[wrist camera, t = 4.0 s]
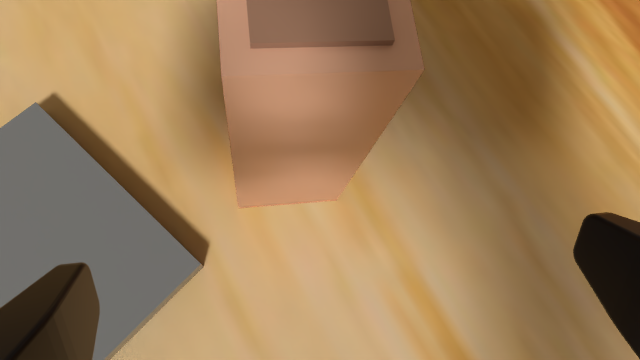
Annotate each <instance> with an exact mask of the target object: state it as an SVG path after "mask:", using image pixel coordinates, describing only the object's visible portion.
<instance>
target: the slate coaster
mask: <svg viewBox="0 0 640 360" xmlns="http://www.w3.org/2000/svg"><path fill="white" fill-rule="evenodd" d="M80 262H84V263H86V264H87V265H88V266H89V268H90V270H91V274H92V277H93V281H94V284H95V288H96V291H97V295H98V299H99V304H100V315H99V322H98V328H97V334H96V340H95V346H94V352H93V359H92V360H110V359H111V358H112V357H113V356H114V355H115V354H116V353H117V352H118V351H119V350H120V349H121V348H122V347H123V346H124V345H125V344H126V343H127V342H128V341H129V340H130V339H131V338H132V337H133V336H134V335H135V334H136V333H137V332H138V331H139V330H140V329H141V328H142V327H143V326H144V325H145V324H146V323H147V322H148V321H149V320H150V319H151V318H152V317H153V316H154V315H155V314H156V313H157V312H158V311H159V310H160V309H161V308H162V307H163V306H164V305H165V304H166V303H167V302H168V301H169V300H170V299H171V298H172V297H173V296H174V295H175V294H176V293H177V292H178V291H179V290H180V289H181V288H182V287H183V286H184V285H185V284H187V283H188V282H189V281H190V280H191V279H192V278H193V277H194V276H195V275H196V274H197V273H198V272H199V271H200V270H201V269H202V268H203V266H202V265H201V263H199V262H198V261H197V260H196V259H195V258H194V257H193V256H192V255H191V254H190V253H189V252H188V251H187V250H186V249H185V248H184V247H183V246H182V245H181V244H180V243H179V242H178V241H177V240H176V239H175V238H174V237H173V236H172V235H171V234H170V233H169V232H168V231H167V230H166V229H165V228H164V227H163V226H162V225H161V224H160V223H159V222H158V221H157V220H156V219H155V218H153V217H152V216H151V215H150V214H149V213H148V212H147V211H146V210H145V209H144V208H143V207H142V206H141V205H140V204H139V203H138V202H137V201H136V200H135V199H134V198H133V197H132V196H131V195H130V194H129V193H128V192H127V191H126V190H125V189H124V188H123V187H122V186H121V185H120V184H119V183H118V182H117V181H116V180H115V179H114V178H113V177H112V176H111V175H110V174H109V173H108V172H106V171H105V170H104V169H103V168H102V167H101V166H100V165H99V164H98V163H97V162H96V161H95V160H94V159H93V158H92V157H91V156H90V155H89V154H88V153H87V152H86V151H85V150H84V149H83V148H82V147H81V146H80V145H79V144H78V143H77V142H76V141H75V140H74V139H73V138H72V137H71V136H70V135H69V134H68V133H67V132H66V131H65V130H64V129H63V128H62V127H60V126H59V125H58V124H57V123H56V122H55V121H54V120H53V119H52V118H51V117H50V116H49V115H48V114H47V113H46V112H45V111H44V110H43V109H42V108H41V107H40V106H39V105H38V104H37V103H36V102H35V103H34V104H33V105H31V106H30V107H29V108H27V109H26V110H24V111H23V112H22V113H20V114H19V115H18V116H16V117H15V118H13V119H12V120H11V121H9V122H8V123H7V124H5V125H4V126H2V127H1V128H0V308H1V307H2V306H3V305H5V304H6V303H7V302H9V301H10V300H11V299H13V298H14V297H15V296H17V295H18V294H20V293H21V292H22V291H24V290H25V289H26V288H28V287H29V286H30V285H32V284H33V283H34V282H36V281H37V280H38V279H40V278H41V277H42V276H44V275H45V274H46V273H48V272H49V271H50V270H52V269H53V268H54V267H56V266H57V265H60V264H69V263H80Z"/></svg>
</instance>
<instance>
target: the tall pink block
mask: <svg viewBox="0 0 640 360" xmlns="http://www.w3.org/2000/svg"><path fill="white" fill-rule="evenodd" d="M217 15H218V31H219V47H220V63H221V78H222V85H223V93H224V101H225V109H226V116H227V124H228V132H229V140H230V148H231V155H232V163H233V171H234V179H235V187H236V194H237V202H238V208H247V207H259V206H272V205H284V204H296V203H309V202H321V201H334V200H337V199H338V198H339V196H340V195H341V193H342V192H343V190H344V189H345V187H346V186H347V184H348V183H349V181H350V180H351V178H352V177H353V175H354V174H355V172H356V171H357V169H358V168H359V166H360V165H361V163H362V162H363V160H364V159H365V158H366V156H367V155H368V153H369V152H370V150H371V149H372V147H373V146H374V144H375V143H376V141H377V140H378V138H379V137H380V135H381V134H382V132H383V131H384V129H385V128H386V126H387V125H388V123H389V122H390V120H391V119H392V117H393V116H394V115H395V113H396V112H397V110H398V109H399V107H400V106H401V104H402V103H403V101H404V100H405V98H406V97H407V95H408V94H409V92H410V91H411V89H412V88H413V86H414V85H415V83H416V82H417V80H418V79H419V77H420V76H421V74H422V73H423V71H424V70H425V69H424V64H423V59H422V54H421V50H420V45H419V40H418V35H417V30H416V25H415V20H414V16H413V11H412V6H411V1H410V0H217Z"/></svg>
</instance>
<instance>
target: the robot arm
mask: <svg viewBox="0 0 640 360" xmlns="http://www.w3.org/2000/svg"><path fill="white" fill-rule="evenodd" d="M573 254H574V259H575V261H576V263H577V265H578V266H579V268H580V270H581V271H582V273H583V274H584V276H585V278H586V279H587V281H588V283H589V284H590V286H591V287H592V289H593V291H594V292H595V294H596V296H597V297H598V299H599V300H600V302H601V304H602V305H603V307H604V309H605V310H606V312H607V313H608V315H609V317H610V318H611V320H612V321H613V323H614V324H615V326H616V327H617V329H618V330H619V332H620V333H621V335H622V336H623V337H624V339H625V340H626V341H627V343H628V344H629V345H630V347H631V348H632V349H633V351H634V352H635V353H636V355H637V356H638V357H639V359H640V222H637V221H634V220H631V219H628V218H625V217H622V216H619V215H616V214H613V213H607V212H606V213H596V214H590V215H588V216H586V217H585V219H584V220H583V222H582V225H581V228H580V231H579V234H578V237H577V240H576V243H575V246H574V249H573ZM99 315H100V304H99V299H98V295H97V291H96V288H95V284H94V281H93V277H92V274H91V270H90V268H89V266H88V265H87V264H86V263H84V262H80V263H69V264H60V265H57V266H56V267H54V268H53V269H52V270H50V271H49V272H48V273H46V274H45V275H44V276H42V277H41V278H40V279H38V280H37V281H36V282H34V283H33V284H32V285H30V286H29V287H28V288H26V289H25V290H24V291H22V292H21V293H20V294H18V295H17V296H15V297H14V298H13V299H11V300H10V301H9V302H7V303H6V304H5V305H3V306H2V307H1V308H0V360H92V359H93V352H94V346H95V340H96V334H97V328H98V322H99Z"/></svg>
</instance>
